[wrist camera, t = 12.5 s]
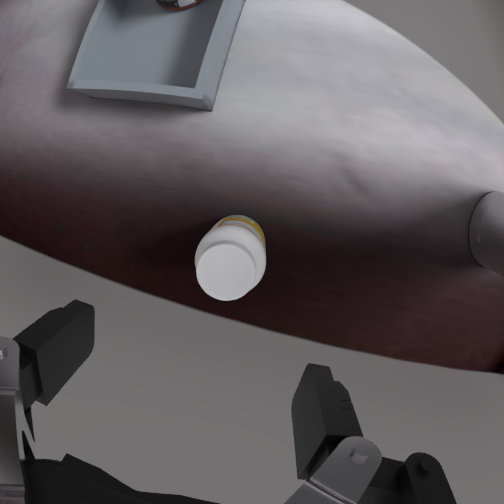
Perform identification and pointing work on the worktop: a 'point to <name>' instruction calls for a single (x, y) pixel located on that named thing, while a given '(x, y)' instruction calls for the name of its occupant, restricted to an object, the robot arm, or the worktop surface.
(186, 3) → the supplement bottle
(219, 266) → the supplement bottle
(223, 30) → the tote
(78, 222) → the worktop surface
